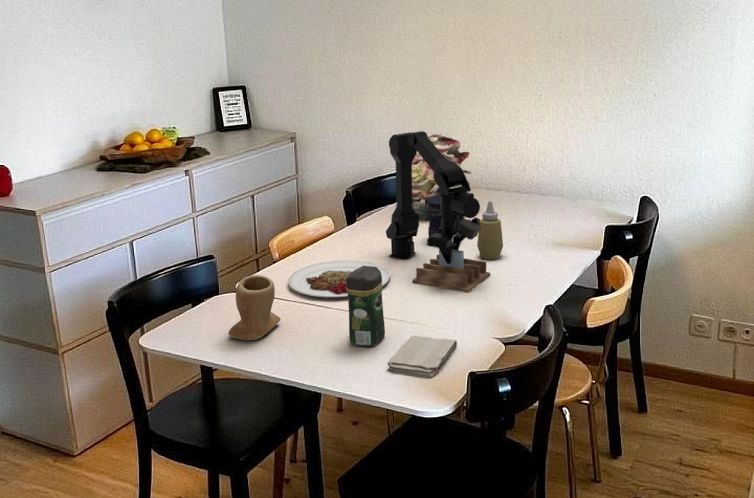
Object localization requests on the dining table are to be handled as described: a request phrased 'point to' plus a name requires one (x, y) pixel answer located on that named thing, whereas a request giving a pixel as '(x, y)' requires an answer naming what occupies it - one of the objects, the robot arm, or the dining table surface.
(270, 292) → the stone cup
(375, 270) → the coffee jar
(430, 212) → the storage jar
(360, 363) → the dining table surface
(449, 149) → the rose bouquet
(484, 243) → the squeeze bottle
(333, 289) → the plated food
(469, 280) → the dish rack
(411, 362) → the washcloth
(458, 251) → the plate tile
